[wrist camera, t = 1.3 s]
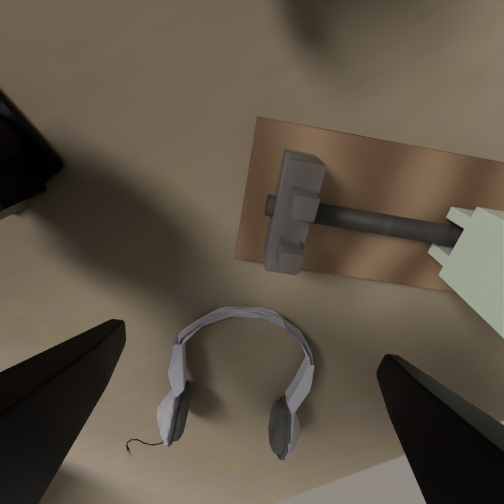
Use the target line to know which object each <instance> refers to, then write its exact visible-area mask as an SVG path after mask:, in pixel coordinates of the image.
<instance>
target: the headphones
mask: <svg viewBox="0 0 504 504" xmlns="http://www.w3.org/2000/svg"><path fill="white" fill-rule="evenodd" d="M228 317H250V318H263V319H265V320H268V321H270V322H272V323H274V324H276V325H279V326H281V327H283V328H285V329H287V330H288V331H289V332H290V333H291V334H292V335H293V336H294V337H295V338H296V339H297V340H298V341H299V342H300V343H301V345H302V347H303V350H304V352H305V355H306V356H305V358H304V360H303V362H302V364H301V366H300V368H299V370H298V372H297V374H296V376H295V378H294V380H293V381H292V382H291V384H290V385H289V387H288V388H287V390H286V391H285V395H286V396H285V397H281V399H280V400H279V401H276V402H275V403H274V405H273V407H272V409H271V414H270V420H269V427H268V429H269V443H270V446H271V448H272V451H273V452H274V453H276V455H277V456H278V458H279V459H280V460H285V459H286V458H287V457H288V455H289V454H290V453H291V452H292V450H293V449H294V447H295V445H296V442H297V439H298V436H299V433H300V426H299V420H298V417H297V414H296V410H297V409H298V407H299V406H300V404H301V403H302V402H303V400H304V399H305V397H306V396H307V395H308V393H309V392H310V388H311V385H312V379H313V373H314V367H315V364H314V361H313V357H312V352H311V349H310V347H309V345H308V343H307V341H306V340H305V338H304V336H303V334H302V332H301V331H300V329H299V328H297V327H296V326H294V325H293V324H291V323H290V322H288V321H287V320H285V319H284V318H283V317H282V316H280V315H279V314H278V313H276V312H275V311H271V310H268V309H265V308H262V307H248V306H226V307H222V308H219V309H217V310H215V311H213V312H211V313H209V314H207V315H205V316H203V317H201V318H200V319H198V320H196V321H195V322H193V323H191V324H190V325H188V326H187V327H185V328H184V329H183V330H182V331H181V332H180V333H179V334H178V336H177V339H176V341H175V343H174V345H173V351H172V357H171V362H170V366H169V370H168V376H169V379H170V383H171V388H172V389H171V390H170V391H169V393H168V394H167V395H166V397H165V398H164V399H163V401H162V402H161V404H160V406H159V407H158V410H157V420H158V425H159V429H160V434H161V436H162V439H163V442H164V444H165V446H168V447H169V446H170V445H172V442H173V441H178V440H179V439H180V437H181V436H182V434H183V432H184V428H185V423H186V419H187V415H188V409H189V403H190V397H191V396H190V390H189V388H187V387H185V383H186V380H187V371H186V351H185V342H186V341H187V340H188V339H189V338H190V337H191V336H192V335H193V334H194V333H195V332H197V331H198V330H199V329H200V328H201V327H202V326H204V325H207V324H210V323H213V322H216V321H219V320H222V319H225V318H228ZM131 440H138V439H131ZM131 440H129V441H128V442H130V441H131ZM138 441H140V440H138ZM128 442H127V444H126V447H127V451H128V452H129V455H130V456H131V453H130V450H129V448H128V446H127V445H128ZM140 442H142V441H140ZM163 442H161V443H159V444H162V443H163ZM142 443H144V442H142ZM144 444H147V443H144ZM148 445H152V446H153V445H158V444H148Z"/></svg>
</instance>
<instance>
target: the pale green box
mask: <svg viewBox="0 0 504 504" xmlns="http://www.w3.org/2000/svg"><path fill="white" fill-rule="evenodd" d="M446 218H448V219H449V220H451V221H452V222H454V223H455V224H457V225H459V226H460V227H462V228H463V229H464V230H463V232H462V234H461V236H460V238H459V239H458V241H457V243H456V245H455V246H448V245H442V244H436V243H432V245H431V247H430V249H429V251H428V253H429V254H430V255H431V256H432V257H433V258H434V259H435V260H437V261H438V262H439V263H440V264H441V265H442V266H443V267H442V269H441V271H440V273H439V276H440V277H441V278H442V279H443V280H444V281H445V282H446V283H447V284H448V285H449V286H450V287H451V288H452V289H453V290H454V291H455V292H456V293H457V294H458V295H459V296H460V297H461V298H463V299H464V300H465V301H466V302H467V303H468V304H469V305H470V306H471V307H472V308H473V309H474V310H475V311H476V312H477V313H478V314H479V315H480V316H481V317H482V318H483V319H484V320H485V321H486V322H487V323H488V324H489V325H490V326H491V327H492V328H493V329H494V330H495V331H496V332H498V333H499V334H500V335H501V336H502V337H503V338H504V211H498V210H493V209H487V208H481V207H477V208H476V209H475V211H474V210H468V209H463V208H457V207H451V209H450V211H449V212H448V214H447V216H446Z"/></svg>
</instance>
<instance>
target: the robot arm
mask: <svg viewBox="0 0 504 504" xmlns="http://www.w3.org/2000/svg"><path fill="white" fill-rule="evenodd" d="M52 162H53V163H55V165H56V168H55V167H53V165H52ZM62 169H63V163H62V161H61V160H60V159H59V158H58V157H57V156H56V155H55V154H54V152H53V151H52V150H51V149H50V148H49V147H48V146H47V145H46V144H45V143H44V141H43V140H42V139H41V138H40V137H39V136H38V135H37V134H36V133H35V132H34V131H33V129H32V128H31V127H30V126H29V125H28V124H27V123H26V122H25V121H24V120H23V119H22V117H21V116H20V115H19V114H18V113H17V112H16V111H15V110H14V109H13V108H12V107H11V105H10V104H9V103H8V102H7V101H6V100H5V99H4V98H3V97H2V96H1V95H0V220H1V219H3V218H5V217H7V216H9V215H12V214H14V213H16V212H18V211H20V210H22V209H24V208H26V207H27V206H28V205H29V204H31V203H32V202H33V201H34V200H36V199H37V198H38V197H39V196H41V195H42V194H43V193H44V192H46V188H47V187H46V186H45V184H46V183H47V182H48V181H49V180H51V179H52V178H53V177H54V176H56V175H57V174H58V173H59V172H61V171H62ZM125 342H126V329H125V322H124V321H123V320H118V319H111V320H108V321H106V322H104V323H102V324H100V325H98V326H96V327H94V328H92V329H90V330H88V331H85V332H83V333H81V334H79V335H77V336H75V337H73V338H71V339H69V340H67V341H65V342H62V343H60V344H58V345H56V346H54V347H52V348H50V349H48V350H46V351H44V352H42V353H39V354H37V355H35V356H33V357H31V358H29V359H27V360H25V361H23V362H21V363H19V364H16V365H14V366H12V367H10V368H8V369H6V370H4V371H2V372H0V504H38V503H39V501H40V500H41V498H42V496H43V495H44V493H45V491H46V490H47V488H48V486H49V484H50V483H51V481H52V479H53V478H54V476H55V474H56V472H57V471H58V469H59V467H60V466H61V464H62V462H63V460H64V459H65V457H66V455H67V454H68V452H69V450H70V448H71V447H72V445H73V443H74V442H75V440H76V438H77V436H78V435H79V433H80V431H81V430H82V428H83V426H84V425H85V423H86V421H87V419H88V418H89V416H90V414H91V413H92V411H93V409H94V407H95V406H96V404H97V402H98V401H99V399H100V397H101V395H102V394H103V392H104V390H105V388H106V387H107V385H108V383H109V380H110V378H111V376H112V374H113V371H114V369H115V367H116V364H117V362H118V360H119V358H120V355H121V353H122V351H123V348H124V346H125ZM377 379H378V382H379V386H380V389H381V392H382V395H383V398H384V401H385V405H386V408H387V411H388V414H389V417H390V419H391V422H392V424H393V426H394V429H395V431H396V433H397V436H398V438H399V440H400V443H401V445H402V447H403V450H404V452H405V454H406V457H407V459H408V461H409V464H410V466H411V468H412V471H413V473H414V476H415V478H416V480H417V482H418V485H419V487H420V489H421V492H422V494H423V496H424V499H425V501H426V504H504V425H503V424H501V423H500V422H498V421H497V420H495V419H494V418H492V417H491V416H489V415H488V414H486V413H485V412H483V411H482V410H480V409H478V408H477V407H475V406H474V405H472V404H471V403H469V402H468V401H466V400H465V399H463V398H462V397H460V396H459V395H457V394H456V393H454V392H453V391H451V390H450V389H448V388H447V387H445V386H444V385H442V384H441V383H439V382H438V381H436V380H435V379H433V378H432V377H430V376H429V375H427V374H426V373H424V372H423V371H421V370H420V369H418V368H416V367H415V366H413V365H412V364H410V363H409V362H407V361H406V360H404V359H403V358H401V357H400V356H398V355H393V354H386V355H385V356H384V358H383V359H382V361H381V363H380V365H379V367H378V369H377Z"/></svg>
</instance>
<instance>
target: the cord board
mask: <svg viewBox="0 0 504 504" xmlns="http://www.w3.org/2000/svg"><path fill="white" fill-rule="evenodd" d="M451 207H457V208H463V209H468V210H474V211H475V209H476V208H477V207H481V208H487V209H493V210H498V211H504V163H503V162H498V161H493V160H487V159H482V158H477V157H471V156H466V155H461V154H455V153H450V152H445V151H439V150H434V149H429V148H423V147H418V146H413V145H407V144H402V143H397V142H391V141H386V140H381V139H375V138H370V137H365V136H359V135H354V134H349V133H343V132H338V131H333V130H327V129H322V128H317V127H311V126H306V125H301V124H295V123H290V122H285V121H279V120H274V119H269V118H263V117H258V116H257V122H256V128H255V134H254V140H253V147H252V153H251V159H250V165H249V171H248V178H247V184H246V190H245V196H244V203H243V209H242V215H241V221H240V227H239V234H238V240H237V246H236V252H235V259H238V260H245V261H252V262H258V263H265V271H271V272H278V273H284V274H291V275H296V274H299V271H300V269H304V270H311V271H317V272H324V273H330V274H337V275H344V276H350V277H357V278H363V279H370V280H377V281H383V282H390V283H396V284H403V285H409V286H416V287H423V288H429V289H436V290H442V291H449V292H455V291H454V290H453V289H452V288H451V287H450V286H449V285H448V284H447V283H446V282H445V281H444V280H443V279H442V278H441V277H440V276H439V273H440V271H441V269H442V267H443V266H442V265H441V264H440V263H439V262H438V261H437V260H435V259H434V258H433V257H432V256H431V255H430V254H429V253H428V251H429V249H430V247H431V245H432V243H436V244H442V245H448V246H455V245H456V243H457V241H458V239H459V238H460V236H461V234H462V232H463V230H464V229H463V228H462V227H460V226H459V225H457V224H455V223H454V222H452V221H451V220H449V219H448V218H446V216H447V214H448V212H449V211H450V209H451ZM455 293H456V292H455Z"/></svg>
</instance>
